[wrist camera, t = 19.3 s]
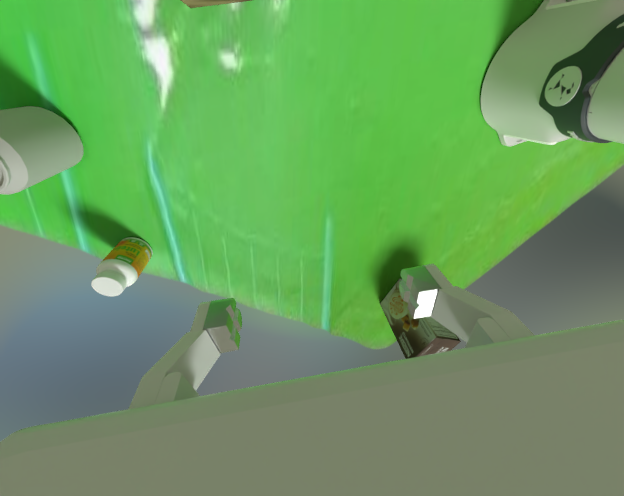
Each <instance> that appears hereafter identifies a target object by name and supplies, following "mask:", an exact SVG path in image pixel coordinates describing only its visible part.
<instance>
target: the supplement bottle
mask: <svg viewBox="0 0 624 496" xmlns="http://www.w3.org/2000/svg"><path fill="white" fill-rule="evenodd" d="M152 253H153V252H152V248H151V247H150V245H149V244H148V243H146V242H145V241H143V240H141V239H139V238H134V237H129V238H125V239H123V240H121V241H120V242H119V243H118V244H117V245H116V246H115V248H114V249H113V250H112V251H111V252H110V253H109V254H108V255H107V256H106V257H105V259H104V260H103V261H102V262H101V263H100V264H99V265H98V267H97V270H96V272H97V275H96V277H95V278H94V279H93V281H92V287H93V289H94V290H95V291H97V292H98V293H100V294H102V295H106V296H117V295H119V294H121V293H122V292H123V290H124V289H125V288H126V287H128V286H130V285H132V284H133V283H134V282H135V281H136V280H137V278H138V277H139V275H140V274H141V272H142V271H143V269H144V268H145V266H146V265H147V263H148V262H149V260H150V259H151V257H152Z"/></svg>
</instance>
